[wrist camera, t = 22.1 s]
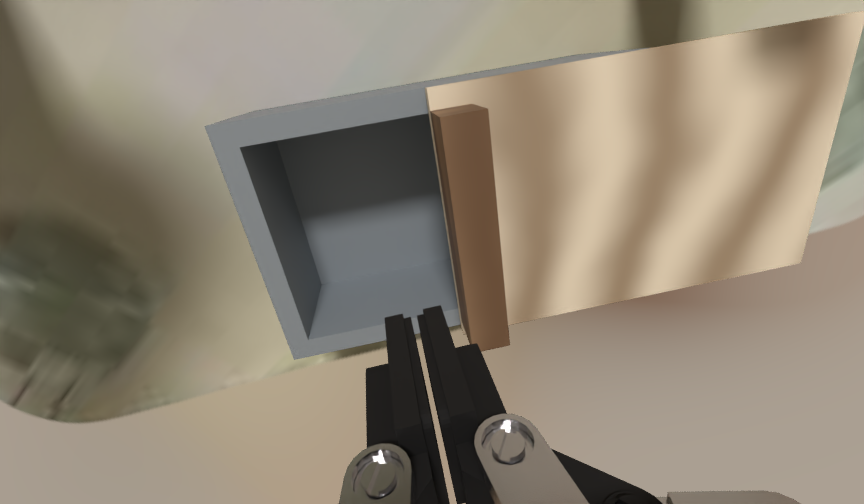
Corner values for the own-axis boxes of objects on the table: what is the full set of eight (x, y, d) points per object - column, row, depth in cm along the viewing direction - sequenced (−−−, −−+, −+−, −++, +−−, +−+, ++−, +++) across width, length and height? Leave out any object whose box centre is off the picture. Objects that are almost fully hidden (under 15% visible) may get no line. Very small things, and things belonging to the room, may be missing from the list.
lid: (461, 327, 25) (475, 367, 22) (424, 87, 19) (435, 90, 16) (788, 257, 26) (851, 285, 23) (849, 12, 20) (946, 0, 17)
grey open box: (312, 294, 32) (294, 359, 25) (251, 111, 26) (204, 126, 19) (577, 241, 33) (633, 287, 26) (576, 54, 27) (649, 47, 20)
